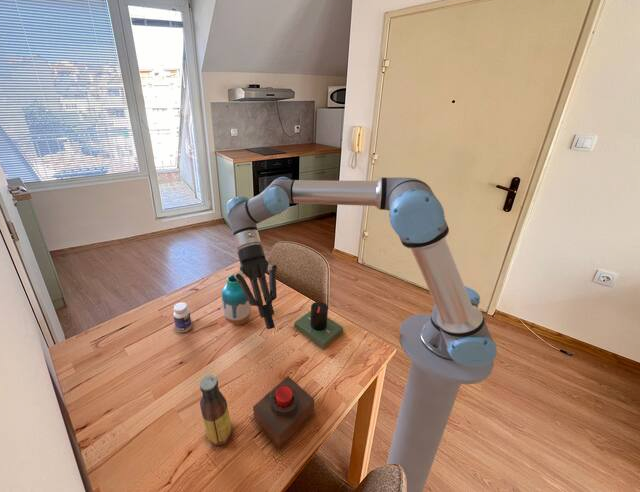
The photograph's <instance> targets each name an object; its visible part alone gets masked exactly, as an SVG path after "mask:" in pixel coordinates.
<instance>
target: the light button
mask: <svg viewBox="0 0 640 492" xmlns="http://www.w3.org/2000/svg"><path fill="white" fill-rule="evenodd" d="M276 403H277V404H278V405H279V406H281V407H287V406H289V405H290V404H291V403H292V391H291V389H290V388H289V387H287V386H281V387H279V388H278V389H277V390H276Z"/></svg>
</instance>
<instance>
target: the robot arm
mask: <svg viewBox="0 0 640 492" xmlns="http://www.w3.org/2000/svg"><path fill="white" fill-rule="evenodd" d="M290 204H305V205H306V204H307V205H308V204H310V205H333V206H334V205H336V206H337V205H338V206H359V207H360V206H362V207H375V208H376V209H378V210H379V211H388V214H389V222H390V225H391V228H392V230H393V231H394V232H395V234H396V235H397V236H398V238H399V240H400V243H401V244H402V246H403V247H405V248H407V249H410V250H411V252H412V255H413V257H414V259H415V261H416V263H417V266H418V268H419V270H420V273H421V275H422V278H423V280H424V282H425V284H426V286H427V289H428V291H429V293H430V296H431V298H432V300H433V302H434V304H433V307H432V311H431V314H432V315H431V319H430V320H429V321H428V322H427V323H426V324H425V325H424V327H423V328H422V331H421V334H420V338H421V341H422V343H423V345H424V346H425V347H426V348H427V349H428V350H429V351H430V352H431V353H433V354H434V355H436V356H438V357H440V358H443V359H446V360H450V361H456V362H457V363H459V364H463V365H466V366H481V365H485V364H488V363H490V362H491V360H494V361H495V359H496V357H497V356H498V348H497V344H496V341H494V339H493V337H492V335H491V333H490V330H489V327H488V325H487V323H486V320H485V318H484V315H483V313H482V311H481V309H480V308H479V305H480V303H481V301H480V300H481V296H480V295H479V293H478V292H477V291H475V289H473V288H471V287H468V286H466V285H465V284H464V282H463V279H462V276H461V274H460V271H459V269H458V267H457V264H456V261H455V259H454V256H453V254H452V251H451V249H450V247H449V243H448V241H447V239H446V238H447V237H448V236H449V234H450V228H449V226H448V223H447V220H446V216H445V209H444V207H443V205H442V202H440V200H439V199H438V198H437V196H436V195H435V193H434V192H433V190H432V188H431V187H430V186H429V184H427V183H426V182H425V181H423V180H421V179H419V178H414V177H379V178H378V179H376V180H321V179H319V180H315V179H311V180H308V179H306V180H305V179H290V178H289V177H287V176H280V177H277V178H276V179H274V180H272V182H271V183H270V184H269V185H268V186H267V187H266V188H265V189H264V190H263V191H262V192H260V193H259V194H257V195H255V196H254V197H252V198H250V199H249V198H248V197H247V196H237V197H233V198H231V199H229V200H228V201H227V203H226V211H227V218H228V221H229V224H230V227H231V231H232V236H233V240H234V244H235V248H236V250H238V251H237V257H238V260H239V264H240V266H239V272H237V273H236V275H235V276H234V278H235V279H236V280H237V281H238V282H239V284H240V286H241V287H242V289H243V291H244V293H245V295H246V297H247V299H248V301H249V303H250V305H251V307H252V306H253V307H257V310H258V313H259V317H260V318H261V319H264V322H265V327H266V330H272V329H275V328H276V326H275V322H274V318H273V315H275V309H274V306H273V302H274V301H275V300H276V299H277V298H278V294H277V293H278V292H277V278H276V272H277V268H278V266H277V265H276V264H271V263H269V261H268V260H267V259H266V255H265V251H264V247H263V245H262V241H261V237H260V233H259V230H258V225H257V224H260V223H261V222H264V221H266V220H268V219H270V218H273V217H274V216H277V215H281V213H283V212H285V211H286V210H288V209H289V207H290ZM267 271H268V272H269V273H268V282H269V285H268V283H267V277H266V273H267ZM245 277H247V278H248V279H249V282H250V284H251V288H252V290H251V289H250V287H249V285H248V283H247V281H246V280H245ZM260 289H261V290H260ZM261 292H262V293H261ZM262 296H263V298H262ZM264 303H265V304H264Z"/></svg>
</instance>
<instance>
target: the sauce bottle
mask: <svg viewBox="0 0 640 492" xmlns="http://www.w3.org/2000/svg"><path fill="white" fill-rule="evenodd" d="M199 389H200V391H201V393H202V397H201V398H200V400H199V406H200V411H201V416H202V417H201V418H202V421H203V424H204V429H205V433H206V437H207V439H208V440H209V442H210V444H212V445H214V446H222V445H224V444H225V443H226V442H228V440H230V437H231V435H232V422H231V417H230V413H229V407H228V403H227V399H226V397H225V395H224V394H223V393H222V392H221V391H220V389H219V381H218V377H217V376H215V375H214V374H207V375H205V376H204V377H202V379H201V380H200V382H199Z"/></svg>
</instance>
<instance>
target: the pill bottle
mask: <svg viewBox="0 0 640 492" xmlns="http://www.w3.org/2000/svg"><path fill="white" fill-rule="evenodd" d="M172 315H173V320H174V326H175V330H176V331H177V332H178V333H185V332H188V331H189V330H190V329H191V328H192V319H191V311H190V308H188V304H187V303H186V302H182V301H181V302H178V303H175V304H174V306H173V314H172Z"/></svg>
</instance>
